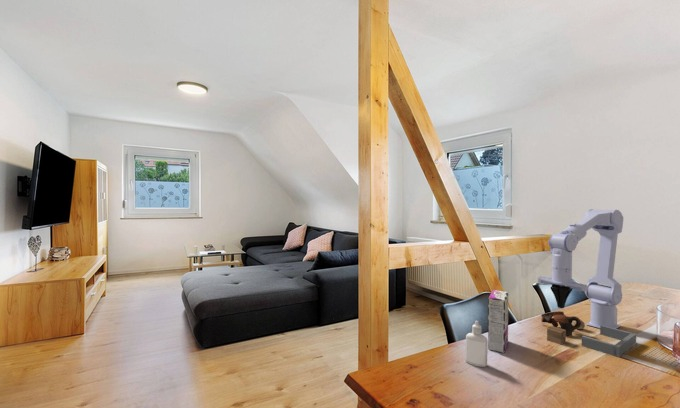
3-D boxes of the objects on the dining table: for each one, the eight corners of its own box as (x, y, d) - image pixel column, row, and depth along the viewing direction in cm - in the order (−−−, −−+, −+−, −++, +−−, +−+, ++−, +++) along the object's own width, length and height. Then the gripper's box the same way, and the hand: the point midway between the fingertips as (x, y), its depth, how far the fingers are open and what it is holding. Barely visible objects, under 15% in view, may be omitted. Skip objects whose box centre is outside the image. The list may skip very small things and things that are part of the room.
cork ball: (574, 326, 122) (575, 316, 122) (586, 329, 120) (586, 319, 120) (570, 328, 120) (571, 318, 120) (582, 331, 117) (582, 321, 117)
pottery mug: (548, 336, 114) (539, 312, 118) (545, 340, 121) (537, 317, 125) (588, 333, 110) (578, 307, 114) (582, 336, 117) (573, 312, 122)
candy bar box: (491, 337, 111) (492, 289, 111) (508, 341, 108) (509, 291, 108) (486, 349, 101) (487, 297, 101) (504, 354, 99) (505, 299, 99)
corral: (601, 333, 116) (601, 325, 116) (636, 343, 108) (636, 333, 108) (581, 345, 106) (581, 336, 106) (618, 357, 98) (618, 347, 98)
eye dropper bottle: (479, 369, 89) (480, 325, 89) (462, 360, 94) (463, 319, 94) (489, 366, 91) (490, 323, 91) (473, 357, 96) (474, 316, 96)
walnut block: (552, 337, 112) (552, 326, 112) (565, 342, 108) (565, 330, 108) (547, 340, 109) (547, 328, 109) (560, 344, 106) (560, 332, 106)
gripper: (534, 265, 117) (533, 303, 117) (582, 273, 105) (581, 315, 105) (543, 264, 121) (542, 300, 121) (590, 271, 109) (589, 311, 109)
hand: (561, 307), depth 113 cm, fingers closed
